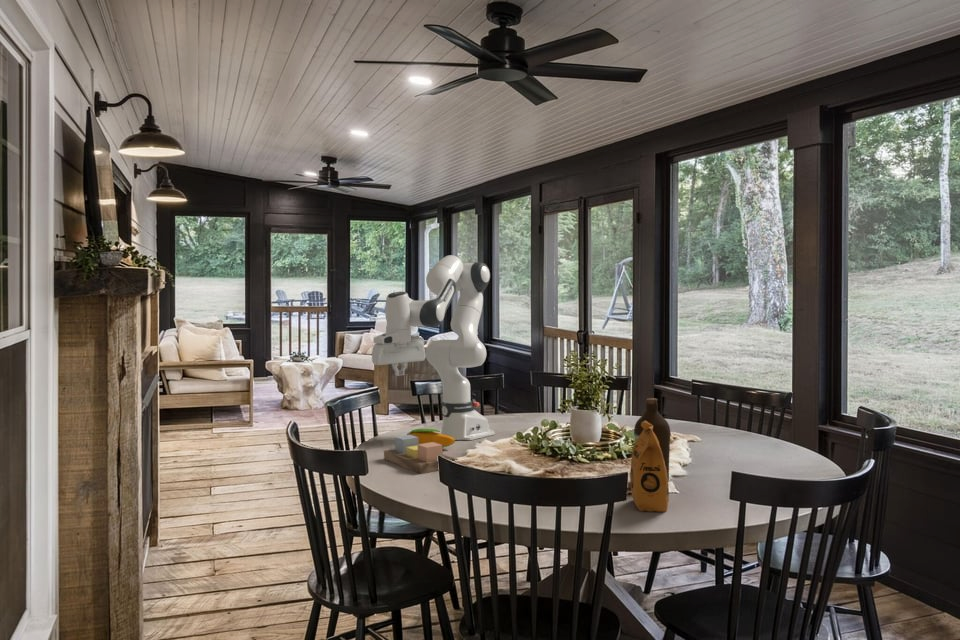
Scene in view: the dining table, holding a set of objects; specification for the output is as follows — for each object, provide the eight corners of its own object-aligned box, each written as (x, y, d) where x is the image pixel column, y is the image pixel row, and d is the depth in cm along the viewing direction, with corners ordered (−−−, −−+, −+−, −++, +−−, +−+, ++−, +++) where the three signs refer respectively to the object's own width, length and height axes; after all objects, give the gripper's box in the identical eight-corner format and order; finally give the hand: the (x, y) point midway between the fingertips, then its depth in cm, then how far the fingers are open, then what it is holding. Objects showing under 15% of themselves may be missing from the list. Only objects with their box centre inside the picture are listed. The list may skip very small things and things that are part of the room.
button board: (416, 453, 258) (416, 445, 258) (455, 467, 237) (454, 458, 236) (384, 459, 251) (383, 450, 250) (421, 473, 229) (420, 464, 229)
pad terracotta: (433, 456, 241) (433, 442, 241) (442, 459, 236) (442, 445, 236) (417, 459, 238) (417, 444, 237) (427, 462, 233) (426, 447, 233)
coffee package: (631, 512, 186) (630, 428, 185) (630, 498, 198) (629, 419, 197) (670, 513, 184) (669, 429, 183) (667, 499, 196) (666, 420, 195)
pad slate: (410, 448, 254) (410, 434, 254) (418, 451, 249) (418, 437, 249) (395, 451, 251) (395, 436, 251) (403, 454, 246) (403, 439, 246)
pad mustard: (421, 458, 248) (421, 444, 248) (430, 462, 243) (430, 447, 243) (406, 461, 244) (406, 447, 244) (415, 464, 239) (414, 450, 239)
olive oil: (664, 475, 221) (663, 395, 219) (675, 485, 210) (675, 400, 209) (630, 477, 220) (629, 396, 219) (640, 486, 209) (639, 402, 208)
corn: (409, 425, 272) (458, 427, 266) (410, 444, 273) (459, 447, 267) (401, 430, 265) (451, 432, 259) (402, 450, 266) (452, 453, 260)
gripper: (419, 334, 264) (420, 371, 265) (369, 338, 253) (370, 377, 253) (428, 335, 259) (429, 373, 260) (377, 339, 247) (378, 379, 248)
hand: (399, 375), depth 256 cm, fingers closed
